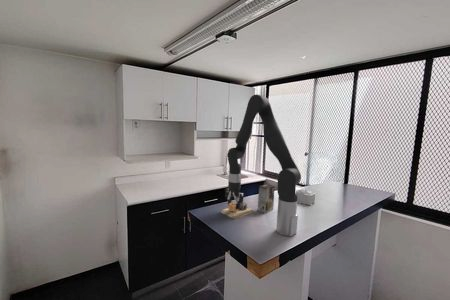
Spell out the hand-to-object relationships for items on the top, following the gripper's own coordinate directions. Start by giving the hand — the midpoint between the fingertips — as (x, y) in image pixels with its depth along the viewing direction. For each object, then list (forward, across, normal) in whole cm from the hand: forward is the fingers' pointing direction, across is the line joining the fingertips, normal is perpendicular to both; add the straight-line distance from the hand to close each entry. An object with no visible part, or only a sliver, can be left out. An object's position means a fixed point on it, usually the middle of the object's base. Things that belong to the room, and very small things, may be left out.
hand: (233, 207), depth 130 cm
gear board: (+4, 0, -4) cm, 6 cm away
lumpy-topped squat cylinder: (+4, -17, -57) cm, 60 cm away
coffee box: (+4, -9, -21) cm, 23 cm away
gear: (+1, 0, 0) cm, 1 cm away
